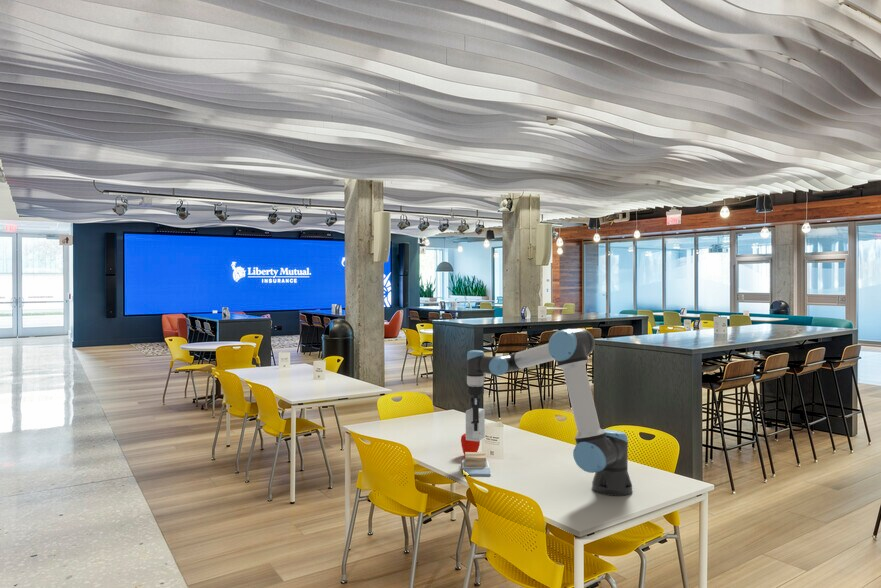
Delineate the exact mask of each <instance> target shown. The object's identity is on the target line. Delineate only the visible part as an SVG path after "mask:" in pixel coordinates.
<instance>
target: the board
mask: <svg viewBox="0 0 881 588" xmlns="http://www.w3.org/2000/svg"><path fill="white" fill-rule="evenodd" d="M462 469H463V470H464V471H465V472H467V473H468V474H469V475H471V476H470V477H491V468H490V463H489V460H488V459H486V467H465V459H461V470H462Z"/></svg>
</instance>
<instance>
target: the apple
mask: <svg viewBox="0 0 881 588" xmlns="http://www.w3.org/2000/svg"><path fill="white" fill-rule="evenodd" d="M460 443H461V448H462V449H461V450H462V453H463V455H464V456H465V452H479V448H480V444H481V440H480V441H470V440H466V432H465V433H463V434H462V435H461V436H460Z"/></svg>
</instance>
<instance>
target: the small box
mask: <svg viewBox="0 0 881 588" xmlns="http://www.w3.org/2000/svg"><path fill="white" fill-rule="evenodd" d="M485 415H486V412H485V408H480V407H479V438H472V431H473V424H471V422H473V409H472V407H471V408H469V409H467V410H465V433H466V440H470V441H480V442H481V441H482V440H483V439H484V438H485V435H486V434H485V433H486V431H485V428H486V427H485V420H486V419H485V418H486V417H485Z"/></svg>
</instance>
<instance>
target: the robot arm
mask: <svg viewBox="0 0 881 588" xmlns="http://www.w3.org/2000/svg"><path fill="white" fill-rule="evenodd" d="M595 343H596V341H595V338H594V336H593V334H592V333H591V332H590V331H589V330H587V329H584V328H579V327H578V328H565V329H561V330H557V331H556V332H554V333H553V334H552V335H551V336H550V338H549V341H548V343H545V344H542V345H538V346H535V347H530V348H527V349H524V350H520V351H518V352H514V353H511V354H507V355H506V354H505V355H498V356H497V355H496V356H489V355H485V352H484V351H483V350H478V349H473V350H469V351H467V354H466V355H467V356H466V357H467V358H466V367H467V368H466V369H467V370H466V374H467V375H466V384H467V386H466V392H467V395H470V396H471V397H470V404H471V408H472V409H473V422H471V424H473V431H472V438H479V408H480V402H481V398H480V397H479V396H482V395H484V394H485V393H484V392H485V389H484V388H485V386H484V384H485V380H486V378H485V377H484V376H485V374H489V375H490V374H491V375H495V376H503V375H505V374H506V373H508V372H510V373H511V372H517V371H520V370H522V369H526V368H528V367H529V368H530V367H532V366H536V365H541V364H544V363H549V362H552V361H556V363H557V367H558V368H559V369H561V370H562V372H563V376H564V380H565V384H566V388H567V393H568V397H569V401H570V406H571V410H572V415H573V418H574V422H575V426H576V431H577V433H576V435H575V436H574V439H575V446H574V449H573V451H572V453H573V455H572V456H573V459H574V462H575V464H576V466H577V467H579V469H581V470H582V471H584V472H586V473H591V474H593V473H594V476H593V478H592V481H591V483H592V484H591V487H592V489H593V491H595V492H597V493H599V494H602V495H607V496H627V495H631V494H632V493H633V484H632V483H633V482H632V481H631V477H630V474H629V471H628V467H629V466H628V458H629V457H628V456H629V455H628V453H629V452H628V450H629V448H628V447H629V441H628V435H627V433H625V432H623V431H619V430H612V429H604V428H603V429H602V427H600V426H601V425H600V422H599V418H598V413H597V409H596V405H595V404H596V403H595V401H594V397H593V392H592V389H591V383H590V381H589V377H588V372H587V368H586V365H587V363H588V361H589V360H588V356H589V355H590V354H591V353H592V352H593V351H594V349H595Z"/></svg>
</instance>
